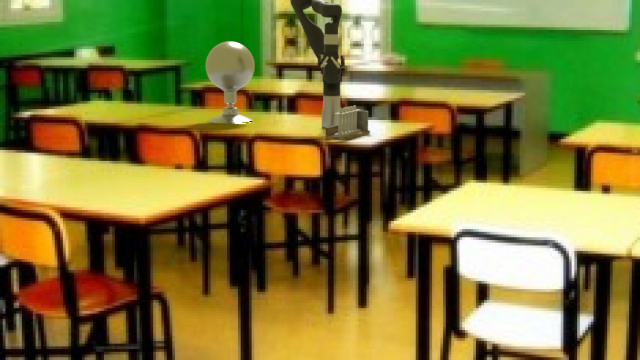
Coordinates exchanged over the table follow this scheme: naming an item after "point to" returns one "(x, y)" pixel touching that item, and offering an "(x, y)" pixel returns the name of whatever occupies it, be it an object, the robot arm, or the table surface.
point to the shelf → (361, 124)
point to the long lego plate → (347, 121)
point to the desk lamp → (230, 76)
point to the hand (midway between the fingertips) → (331, 75)
